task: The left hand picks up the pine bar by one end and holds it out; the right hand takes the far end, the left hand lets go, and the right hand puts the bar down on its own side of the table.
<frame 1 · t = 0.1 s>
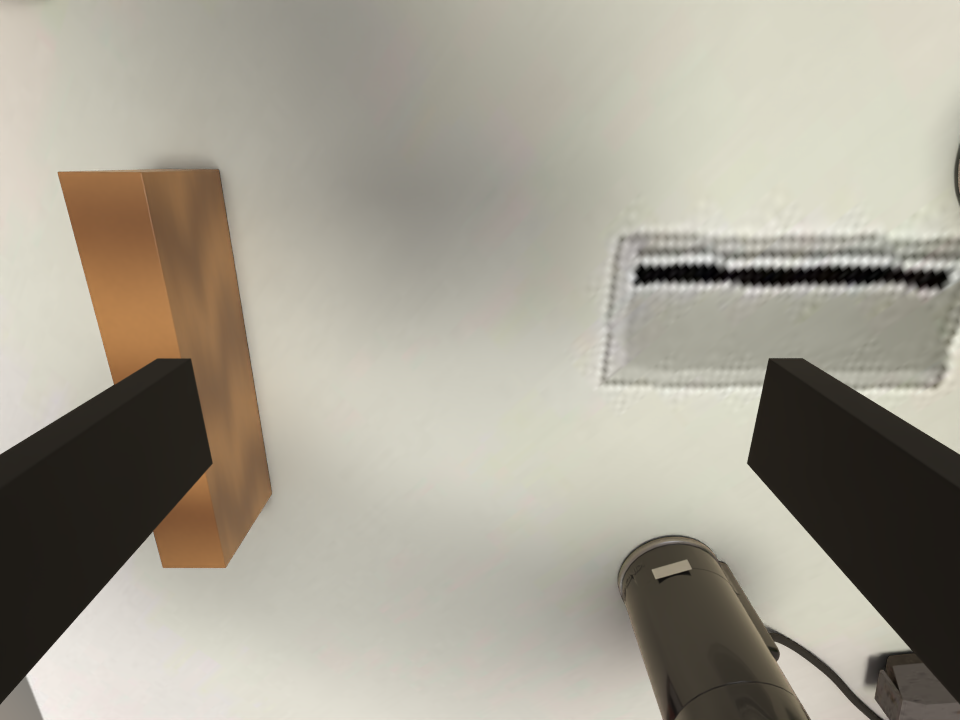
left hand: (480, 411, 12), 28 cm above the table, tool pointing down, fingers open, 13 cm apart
bar: (219, 350, 41), on the table
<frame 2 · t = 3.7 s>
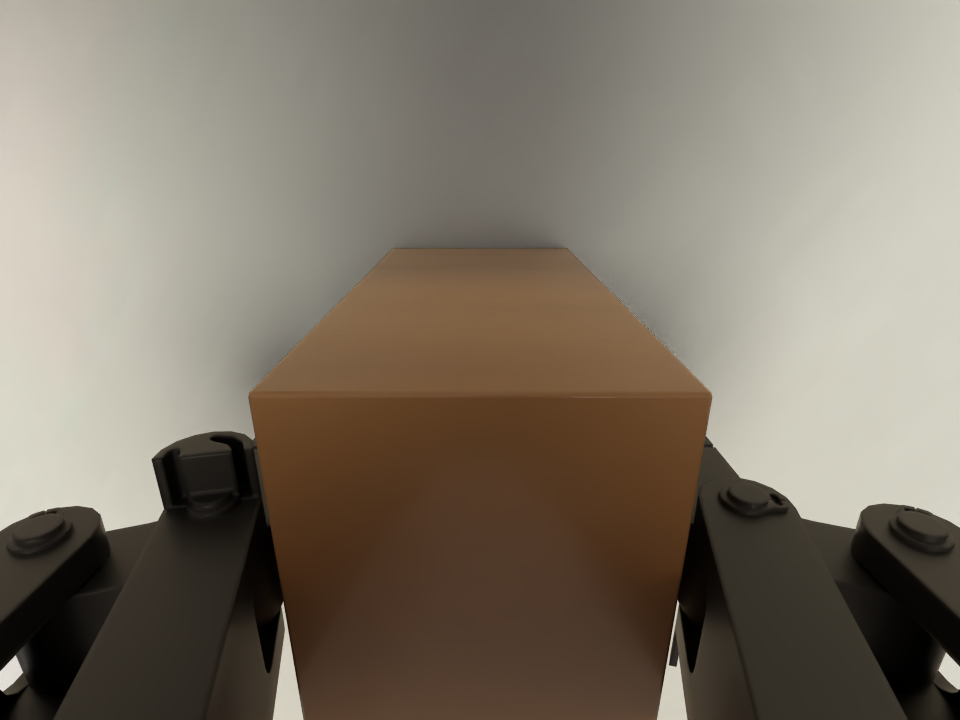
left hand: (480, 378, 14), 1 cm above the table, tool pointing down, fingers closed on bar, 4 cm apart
bar: (480, 638, 18), on the table, touching left hand
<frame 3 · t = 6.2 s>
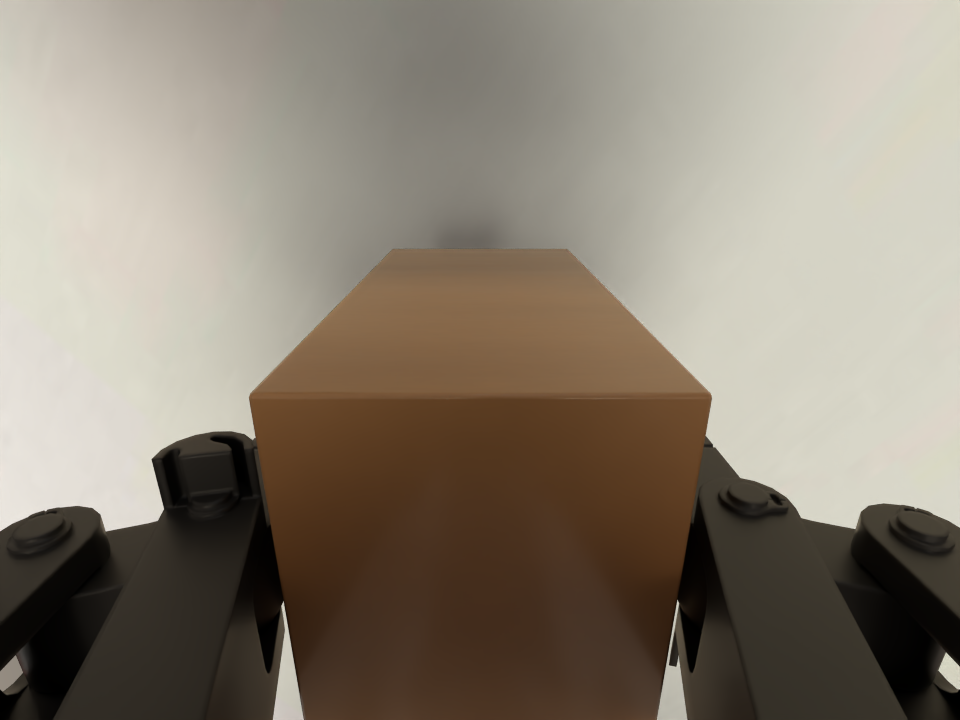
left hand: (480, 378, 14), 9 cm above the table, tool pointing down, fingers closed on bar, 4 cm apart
bar: (480, 638, 18), point 9 cm above the table, touching left hand
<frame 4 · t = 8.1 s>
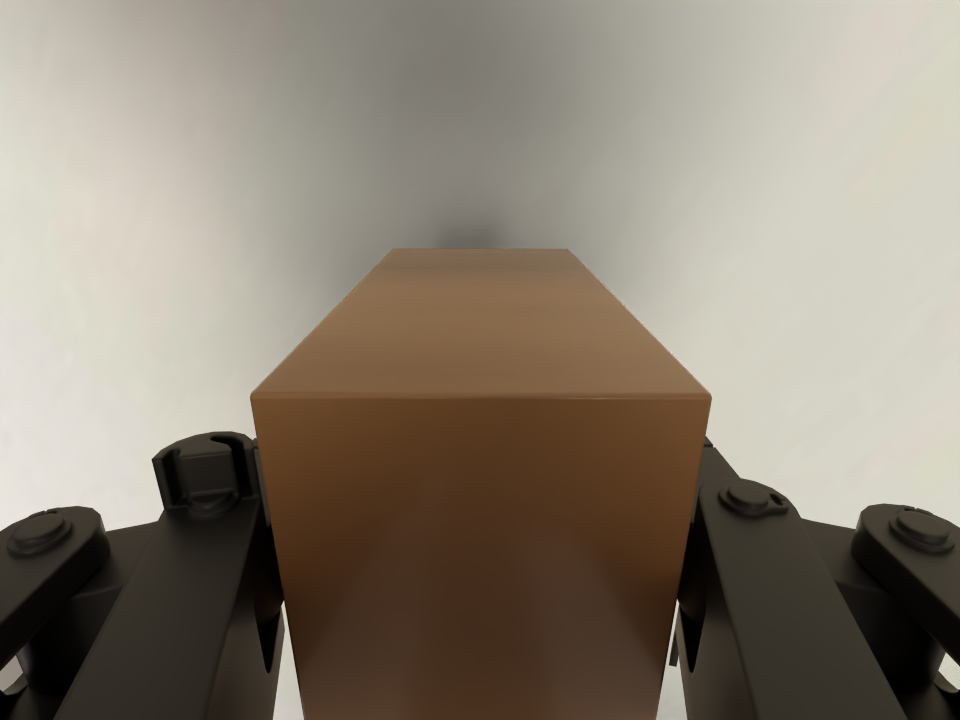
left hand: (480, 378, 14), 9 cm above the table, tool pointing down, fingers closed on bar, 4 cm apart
bar: (479, 637, 18), point 9 cm above the table, touching left hand, right hand
when the left hand's fingers open (9 cm above the table, at t = 8.8 s): bar stays where it is, held by the right hand.
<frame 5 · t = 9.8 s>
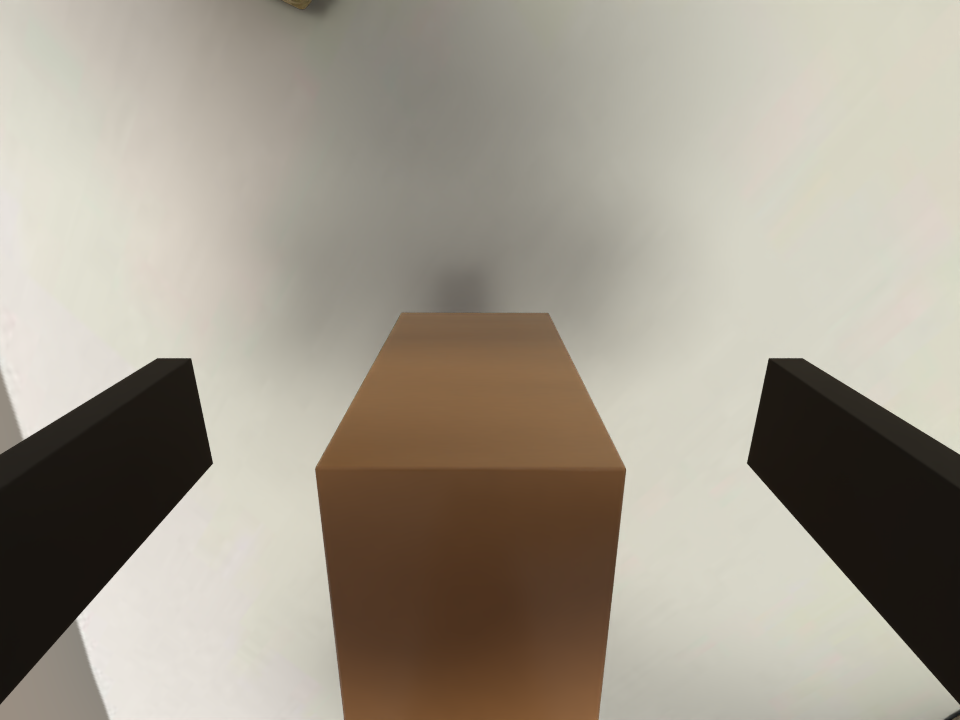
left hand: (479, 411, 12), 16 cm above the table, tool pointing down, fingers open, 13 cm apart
bar: (474, 645, 21), point 11 cm above the table, touching right hand
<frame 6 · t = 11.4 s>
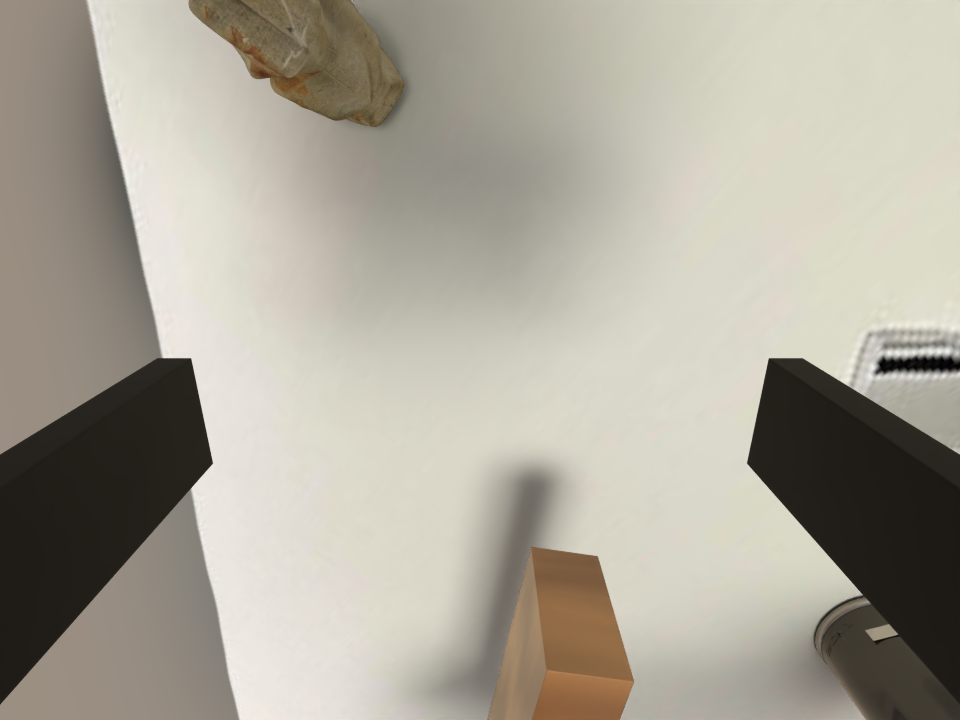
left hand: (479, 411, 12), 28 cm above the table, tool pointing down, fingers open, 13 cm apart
bar: (524, 692, 39), point 11 cm above the table, touching right hand
sculpture: (354, 75, 35), on the table
when the right hand's fingers open (5 cm above the table, at t = 14.8 s): bar stays where it is, on the table.
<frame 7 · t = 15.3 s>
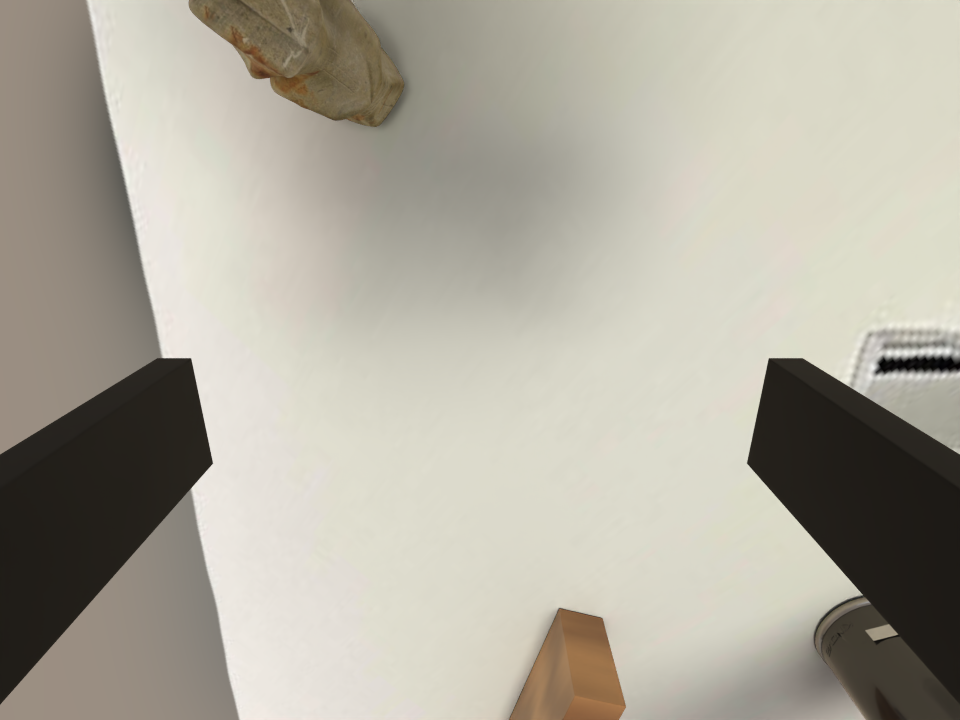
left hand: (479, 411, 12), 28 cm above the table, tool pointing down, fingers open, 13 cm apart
bar: (537, 705, 56), on the table
sculpture: (354, 75, 35), on the table
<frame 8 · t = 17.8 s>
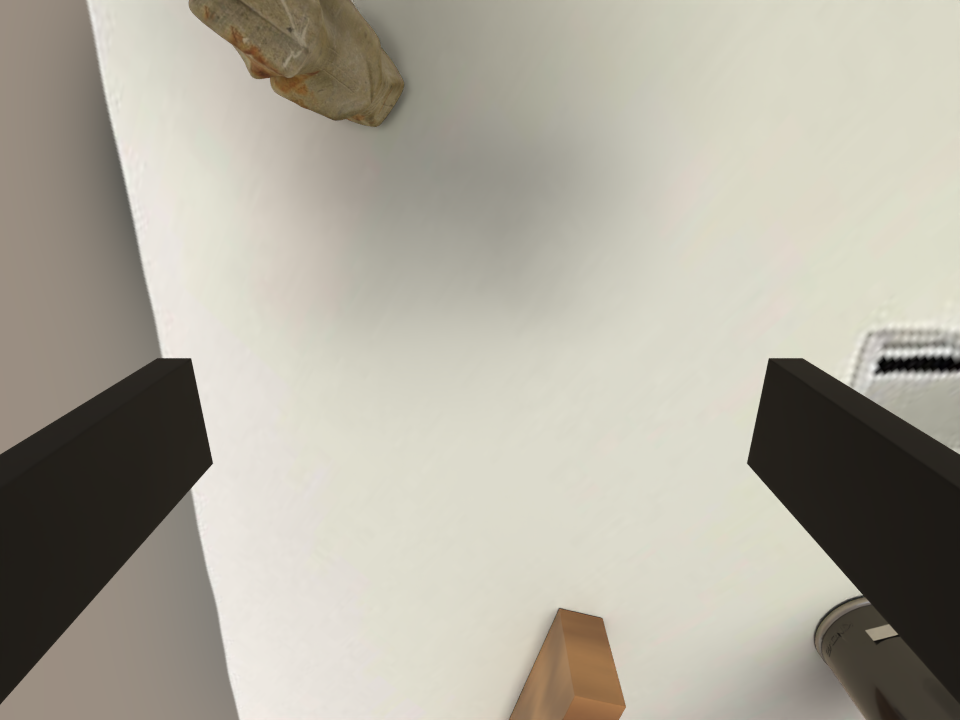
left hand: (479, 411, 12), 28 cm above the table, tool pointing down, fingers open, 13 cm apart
bar: (537, 705, 56), on the table
sculpture: (354, 75, 35), on the table
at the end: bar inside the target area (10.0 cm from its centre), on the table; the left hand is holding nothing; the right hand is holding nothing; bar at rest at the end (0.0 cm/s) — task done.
